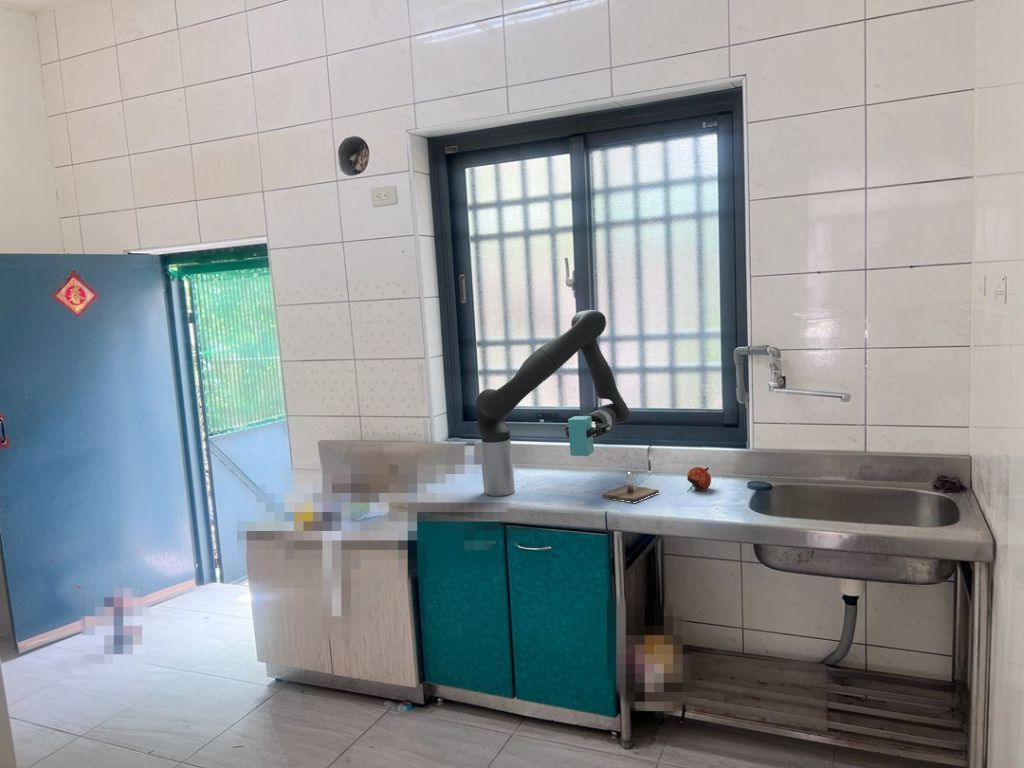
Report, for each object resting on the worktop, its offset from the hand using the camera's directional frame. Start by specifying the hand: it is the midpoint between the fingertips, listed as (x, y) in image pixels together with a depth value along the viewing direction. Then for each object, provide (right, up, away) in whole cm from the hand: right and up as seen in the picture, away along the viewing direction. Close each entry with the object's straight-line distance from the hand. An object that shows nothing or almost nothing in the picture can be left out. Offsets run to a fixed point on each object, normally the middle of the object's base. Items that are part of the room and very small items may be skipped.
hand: (578, 434), depth 215 cm
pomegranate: (+36, -17, +2) cm, 40 cm away
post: (+16, -17, +2) cm, 24 cm away
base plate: (+16, -19, +2) cm, 24 cm away
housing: (+2, -6, +3) cm, 7 cm away
